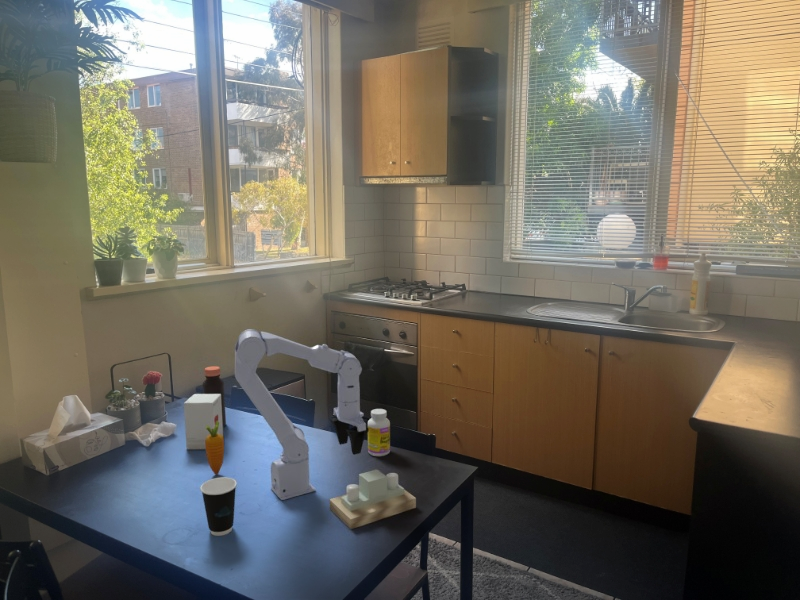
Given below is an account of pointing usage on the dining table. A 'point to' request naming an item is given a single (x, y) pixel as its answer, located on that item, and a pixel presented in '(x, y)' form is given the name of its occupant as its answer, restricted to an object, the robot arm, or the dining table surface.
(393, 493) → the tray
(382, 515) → the shelf board
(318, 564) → the dining table surface
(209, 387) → the vinegar
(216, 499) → the dixie cup
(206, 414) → the supplement box
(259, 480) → the dining table surface
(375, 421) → the supplement bottle
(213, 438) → the carrot
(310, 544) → the dining table surface
